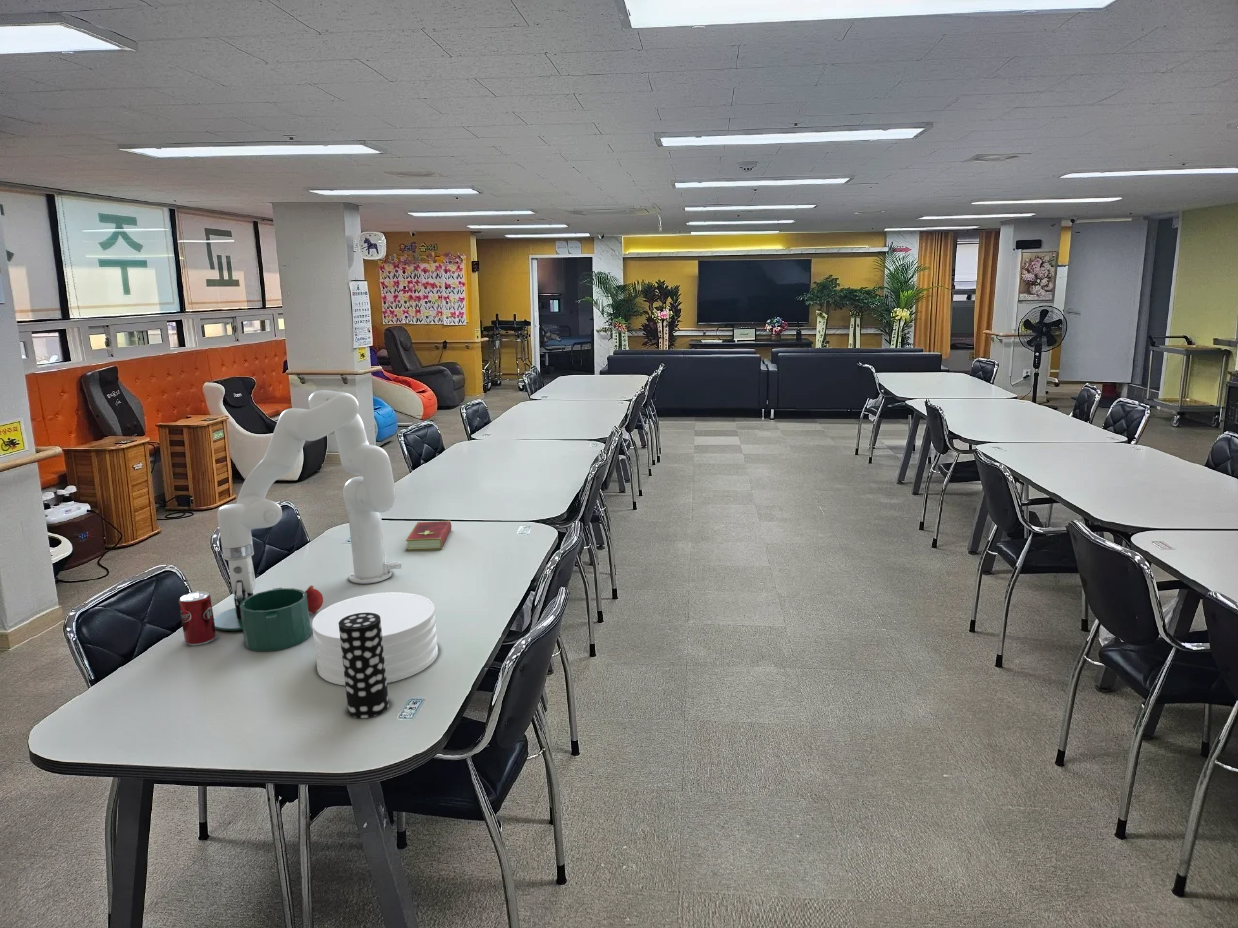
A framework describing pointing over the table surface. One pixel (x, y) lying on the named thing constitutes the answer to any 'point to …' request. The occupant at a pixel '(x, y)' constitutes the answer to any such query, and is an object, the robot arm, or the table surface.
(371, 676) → the white-spotted black cylinder
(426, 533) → the hardcover book
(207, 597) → the soda can
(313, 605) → the onion
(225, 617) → the lid
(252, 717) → the table surface
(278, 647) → the pot
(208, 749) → the table surface
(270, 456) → the robot arm
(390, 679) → the plate stack
